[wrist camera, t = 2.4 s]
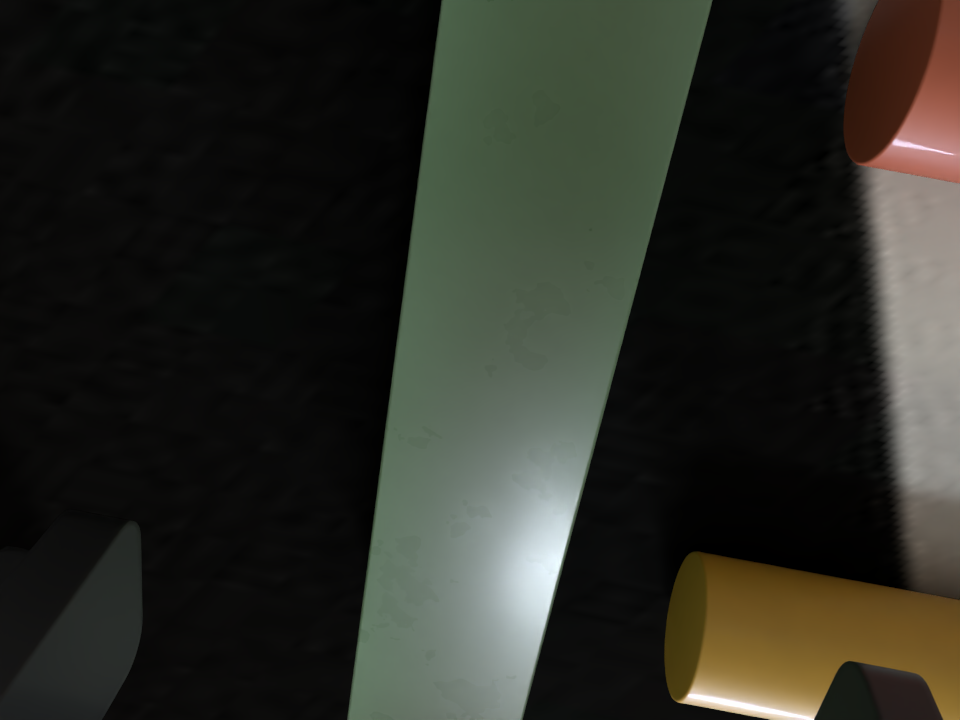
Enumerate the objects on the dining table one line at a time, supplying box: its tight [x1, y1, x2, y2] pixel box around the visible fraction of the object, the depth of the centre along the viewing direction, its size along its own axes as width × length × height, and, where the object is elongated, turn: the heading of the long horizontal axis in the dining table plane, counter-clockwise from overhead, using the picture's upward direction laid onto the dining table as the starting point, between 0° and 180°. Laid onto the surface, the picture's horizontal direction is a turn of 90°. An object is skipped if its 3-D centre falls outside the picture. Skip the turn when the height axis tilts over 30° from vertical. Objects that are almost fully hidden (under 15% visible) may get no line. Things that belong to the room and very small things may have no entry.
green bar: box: [347, 0, 713, 720], centre depth 17 cm, size 4×18×4 cm, turn 171°
